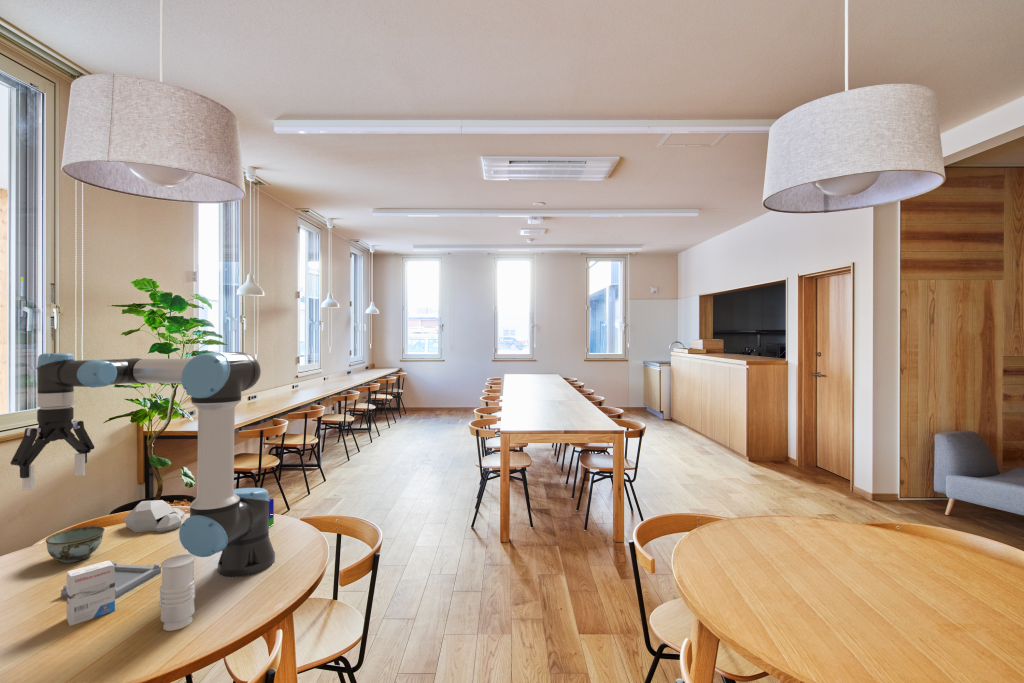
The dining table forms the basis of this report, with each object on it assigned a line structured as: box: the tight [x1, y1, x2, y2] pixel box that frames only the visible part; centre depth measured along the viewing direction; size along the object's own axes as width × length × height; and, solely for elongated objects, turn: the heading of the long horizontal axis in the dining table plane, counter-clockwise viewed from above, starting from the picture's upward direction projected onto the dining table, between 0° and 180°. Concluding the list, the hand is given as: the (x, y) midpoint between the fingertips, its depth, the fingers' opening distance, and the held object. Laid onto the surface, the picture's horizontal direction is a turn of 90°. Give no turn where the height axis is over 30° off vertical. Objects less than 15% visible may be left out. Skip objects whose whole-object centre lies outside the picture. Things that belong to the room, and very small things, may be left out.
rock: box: [123, 499, 186, 533], centre depth 175 cm, size 18×20×10 cm
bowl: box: [45, 525, 105, 564], centre depth 148 cm, size 14×13×8 cm
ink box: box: [66, 559, 116, 627], centre depth 118 cm, size 8×5×12 cm, turn 141°
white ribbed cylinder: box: [159, 553, 196, 632], centre depth 115 cm, size 7×7×15 cm
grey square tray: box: [60, 561, 162, 600], centre depth 133 cm, size 15×15×3 cm
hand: (55, 482), depth 136 cm, fingers open, 13 cm apart
